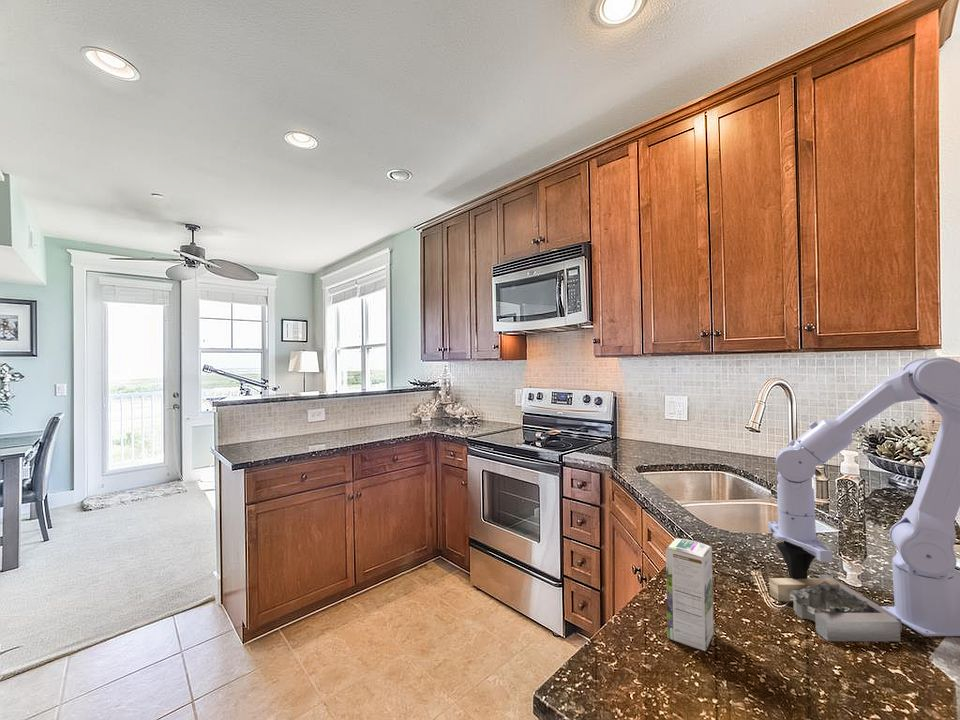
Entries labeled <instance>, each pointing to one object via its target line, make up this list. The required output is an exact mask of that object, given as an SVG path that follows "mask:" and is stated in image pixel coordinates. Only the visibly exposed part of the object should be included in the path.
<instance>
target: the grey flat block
mask: <svg viewBox="0 0 960 720" xmlns="http://www.w3.org/2000/svg"><path fill="white" fill-rule="evenodd" d="M818 576H819V577H818V578H830V579H831V580H833V581H835V582H836V583H838V584H839V587H840V589H841V590H843V591H845V592H847V593H848V594H850V595H855V596H856V597H857V599H858V600H859V601H861V602H864V601H866V602H867V603H868V604H867V609H866V608H864V613H815V621H814V623H815V624H814V625H815V633H817V634H818V635H819V636H820V637H822V638H823V639H824V640H825V641H826V642H901V641H902V640H901V633H903V626H902V624H903V623H902V622H901V619H900V618H899V617H897V616H895V615H894V614H892V613H890V612H889V611H887V610H885V609H884V608H882V607H881V606H880V605H878V604H877V603H875V602H873V601H872V600H871V599H868V598H867V597H865V596H864V595H862V594H860V593H859V592H857V591H856V590H854V589H852V588H850V587H848V586H847V585H846V584H844V583H842V582H840V581H838V580H837V579H835V578H834V577H832V576H831V575H829V574H819V575H818Z"/></svg>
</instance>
